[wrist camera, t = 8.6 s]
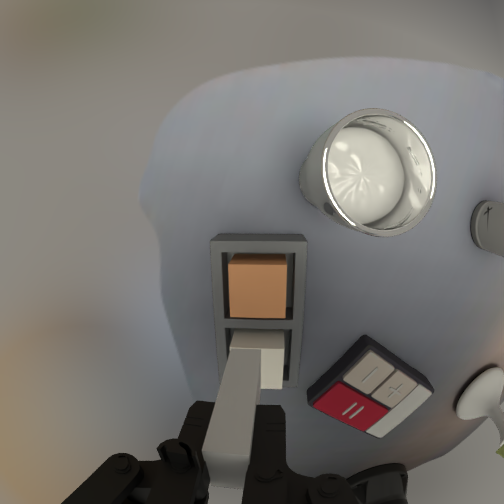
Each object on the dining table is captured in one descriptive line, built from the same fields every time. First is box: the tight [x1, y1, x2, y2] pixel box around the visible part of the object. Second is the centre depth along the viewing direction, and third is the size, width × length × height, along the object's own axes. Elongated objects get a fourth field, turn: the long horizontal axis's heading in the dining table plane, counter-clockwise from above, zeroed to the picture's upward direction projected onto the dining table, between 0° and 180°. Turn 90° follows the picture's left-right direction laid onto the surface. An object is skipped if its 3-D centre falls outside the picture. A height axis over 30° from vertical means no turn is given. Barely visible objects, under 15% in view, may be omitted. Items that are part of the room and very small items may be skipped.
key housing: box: [210, 234, 307, 387], centre depth 28 cm, size 16×9×4 cm, turn 0°
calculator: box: [307, 335, 434, 438], centre depth 30 cm, size 11×4×15 cm
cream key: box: [230, 328, 284, 389], centre depth 27 cm, size 5×5×4 cm
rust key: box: [228, 254, 287, 318], centre depth 26 cm, size 5×5×4 cm
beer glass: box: [299, 108, 437, 237], centre depth 19 cm, size 7×7×15 cm
